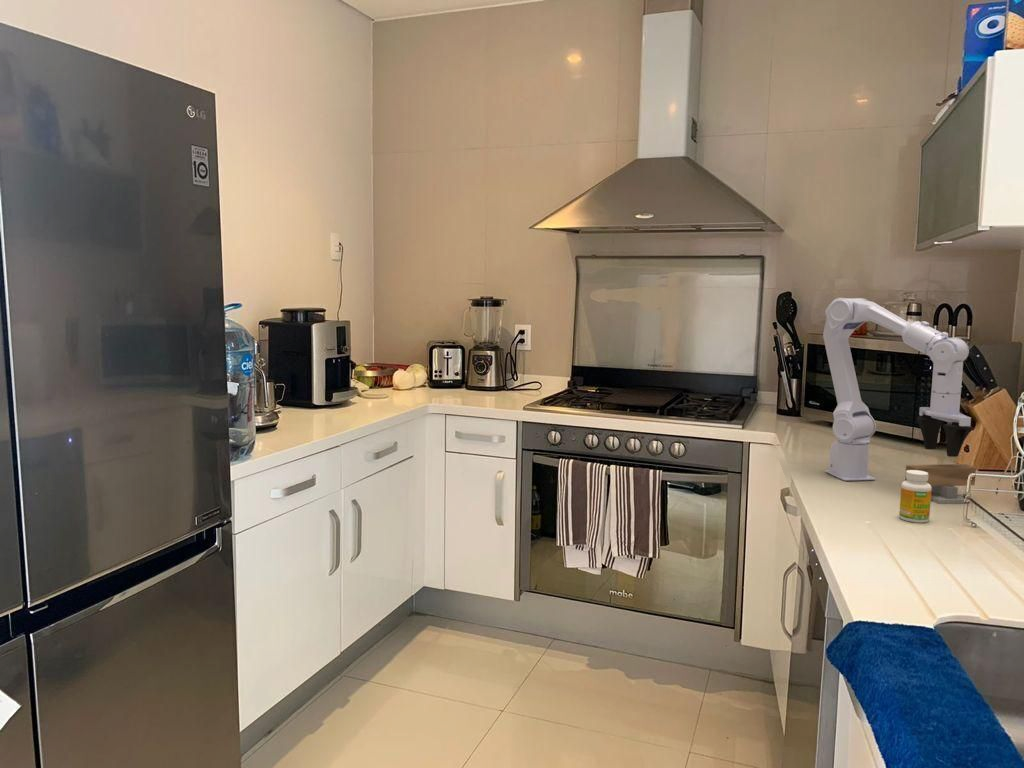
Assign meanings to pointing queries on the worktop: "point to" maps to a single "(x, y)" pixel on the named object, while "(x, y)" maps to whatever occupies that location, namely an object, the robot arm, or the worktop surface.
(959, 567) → the worktop surface
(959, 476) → the beam
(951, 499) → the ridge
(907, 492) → the supplement bottle
